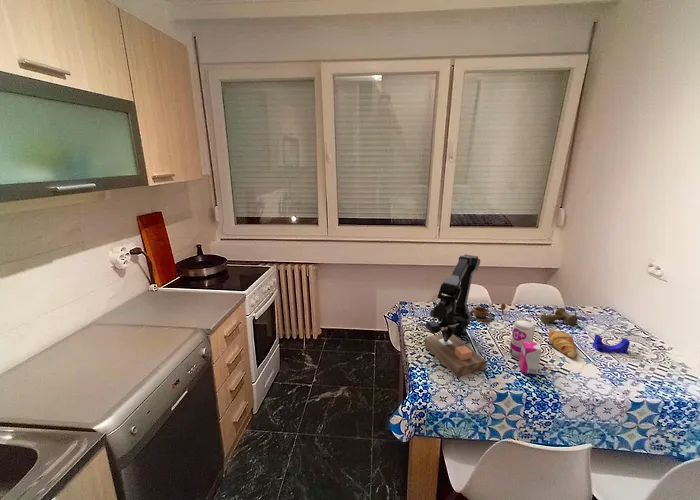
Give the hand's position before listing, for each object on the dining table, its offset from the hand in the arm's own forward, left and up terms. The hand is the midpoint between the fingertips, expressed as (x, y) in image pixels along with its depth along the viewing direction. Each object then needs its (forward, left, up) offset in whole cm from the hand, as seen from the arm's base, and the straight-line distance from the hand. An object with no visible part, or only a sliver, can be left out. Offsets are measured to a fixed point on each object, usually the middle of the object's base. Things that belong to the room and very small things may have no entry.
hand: (445, 341), depth 148 cm
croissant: (-52, +15, -4) cm, 54 cm away
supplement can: (-29, +14, -4) cm, 32 cm away
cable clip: (-70, +25, -4) cm, 75 cm away
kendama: (-74, -3, -4) cm, 74 cm away
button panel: (0, +6, -4) cm, 7 cm away
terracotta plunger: (0, +12, 0) cm, 12 cm away
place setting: (-41, -19, -5) cm, 46 cm away
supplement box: (-23, +24, -4) cm, 33 cm away
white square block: (0, 0, -3) cm, 3 cm away
